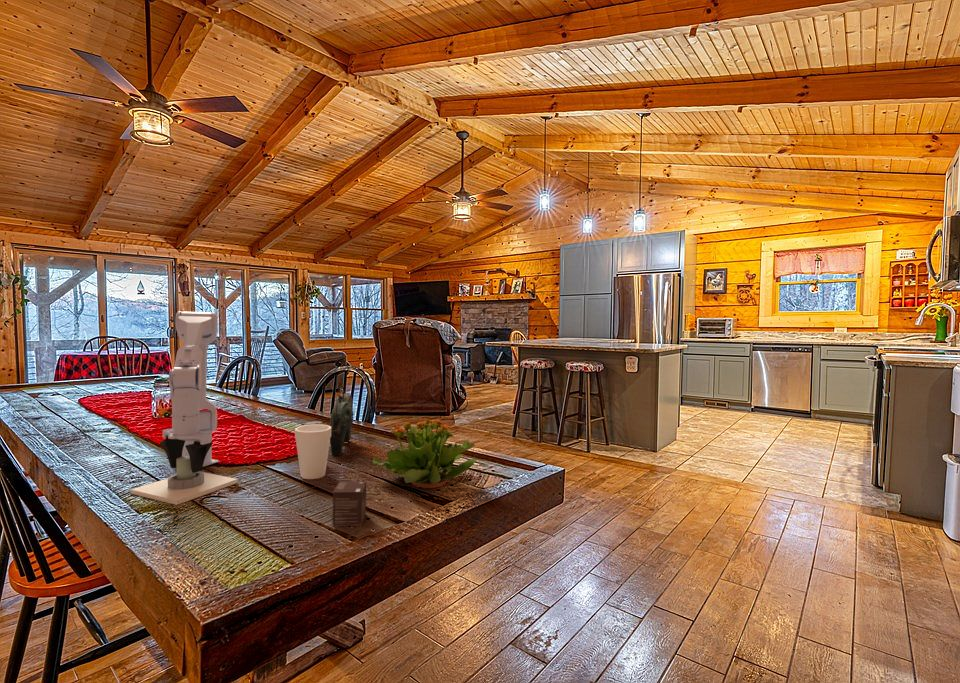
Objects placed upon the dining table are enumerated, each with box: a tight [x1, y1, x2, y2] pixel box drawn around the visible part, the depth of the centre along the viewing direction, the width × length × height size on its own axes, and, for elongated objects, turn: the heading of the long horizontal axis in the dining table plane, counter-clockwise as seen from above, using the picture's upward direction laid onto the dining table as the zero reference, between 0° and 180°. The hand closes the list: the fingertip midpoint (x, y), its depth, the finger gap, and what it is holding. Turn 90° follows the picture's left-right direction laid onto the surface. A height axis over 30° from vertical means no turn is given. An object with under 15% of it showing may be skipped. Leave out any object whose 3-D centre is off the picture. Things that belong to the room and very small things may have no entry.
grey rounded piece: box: [176, 456, 196, 480], centre depth 115 cm, size 4×4×6 cm
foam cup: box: [294, 423, 331, 480], centre depth 127 cm, size 10×9×13 cm
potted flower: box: [372, 418, 477, 489], centre depth 123 cm, size 25×24×18 cm
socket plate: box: [130, 471, 238, 506], centre depth 115 cm, size 16×16×3 cm
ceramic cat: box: [329, 387, 354, 456], centre depth 155 cm, size 20×6×20 cm, turn 6°
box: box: [332, 481, 367, 527], centre depth 99 cm, size 6×6×7 cm
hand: (186, 469), depth 115 cm, fingers open, 7 cm apart
